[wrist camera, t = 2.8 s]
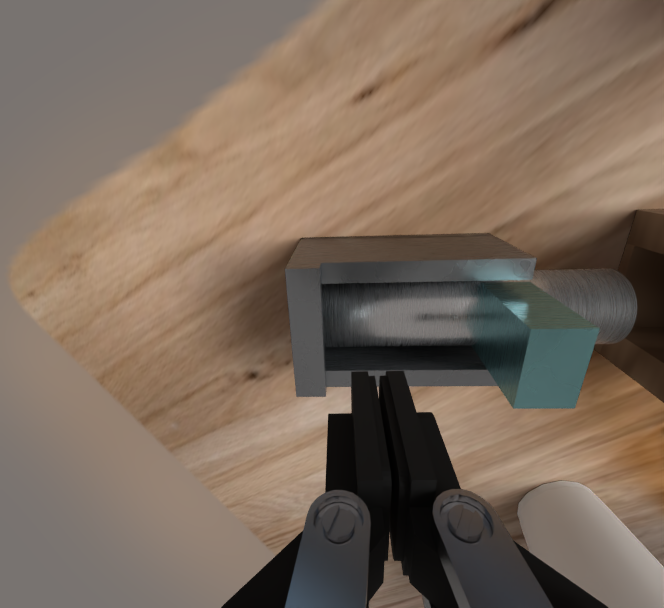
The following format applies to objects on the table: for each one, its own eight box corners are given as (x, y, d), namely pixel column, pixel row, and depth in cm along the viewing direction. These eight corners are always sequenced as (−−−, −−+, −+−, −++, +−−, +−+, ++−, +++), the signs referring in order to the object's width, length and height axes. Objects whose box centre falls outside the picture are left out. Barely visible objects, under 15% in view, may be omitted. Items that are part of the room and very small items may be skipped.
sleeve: (473, 335, 22) (516, 395, 17) (308, 337, 23) (296, 396, 17) (488, 233, 20) (546, 263, 14) (301, 237, 20) (284, 269, 15)
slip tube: (572, 322, 21) (695, 412, 13) (327, 326, 21) (318, 412, 14) (590, 259, 19) (740, 321, 12) (324, 265, 20) (313, 327, 13)
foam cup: (475, 516, 29) (563, 759, 18) (556, 449, 26) (732, 694, 14) (555, 555, 31) (685, 801, 19) (640, 497, 28) (861, 752, 16)
